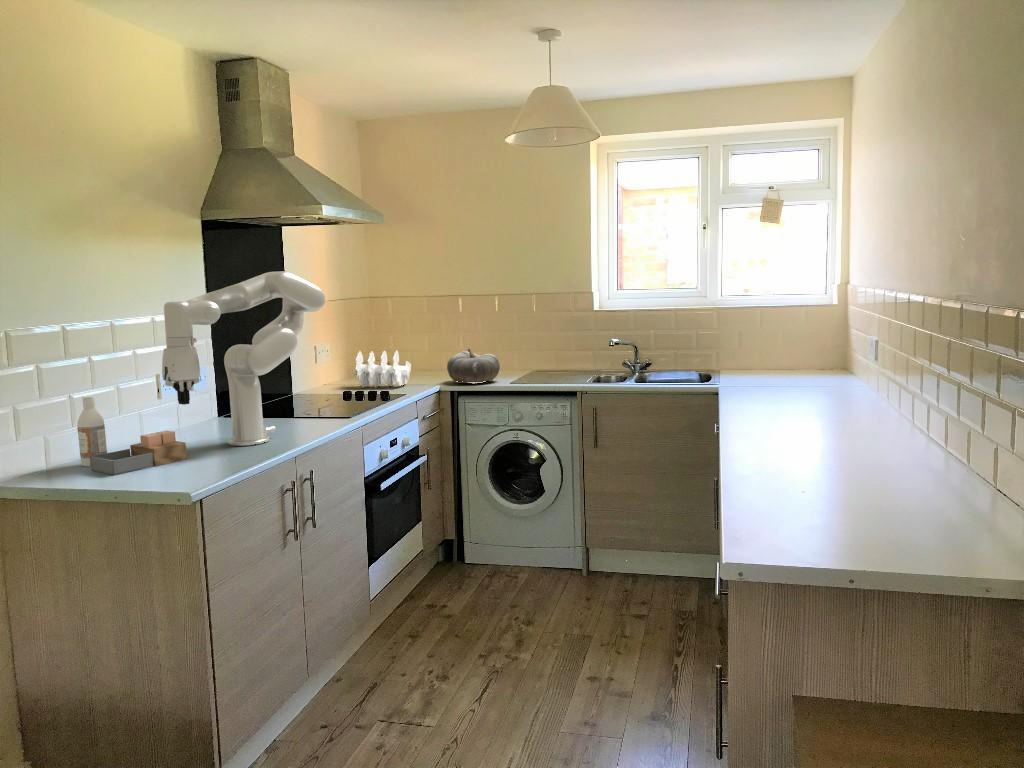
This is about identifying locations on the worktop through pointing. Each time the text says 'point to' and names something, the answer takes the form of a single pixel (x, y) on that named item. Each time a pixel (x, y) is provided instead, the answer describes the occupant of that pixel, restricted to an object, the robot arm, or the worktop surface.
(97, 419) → the bath foam
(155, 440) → the light orange block
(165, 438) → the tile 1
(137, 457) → the tray
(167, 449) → the brown slab
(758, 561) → the worktop surface
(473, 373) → the gourd
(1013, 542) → the worktop surface
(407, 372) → the white shapes
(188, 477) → the worktop surface
